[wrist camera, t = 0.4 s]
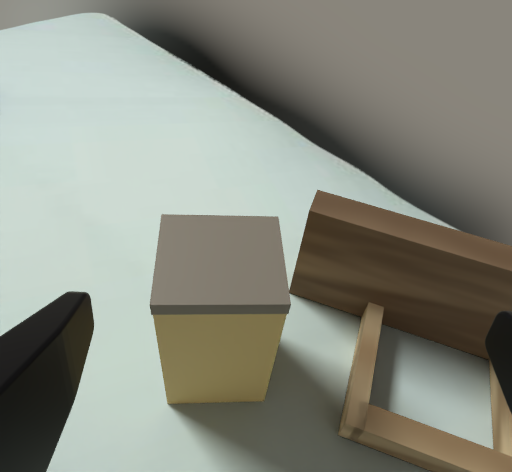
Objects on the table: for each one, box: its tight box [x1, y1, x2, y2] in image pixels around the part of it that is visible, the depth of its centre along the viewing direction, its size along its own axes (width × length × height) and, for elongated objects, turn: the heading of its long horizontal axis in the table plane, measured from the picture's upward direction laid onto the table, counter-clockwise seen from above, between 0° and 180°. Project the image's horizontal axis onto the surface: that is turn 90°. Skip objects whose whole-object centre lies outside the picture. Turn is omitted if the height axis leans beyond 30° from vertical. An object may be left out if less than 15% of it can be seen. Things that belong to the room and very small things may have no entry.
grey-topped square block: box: [150, 214, 291, 404], centre depth 22 cm, size 5×6×10 cm
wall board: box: [289, 190, 512, 472], centre depth 23 cm, size 10×20×8 cm, turn 71°
